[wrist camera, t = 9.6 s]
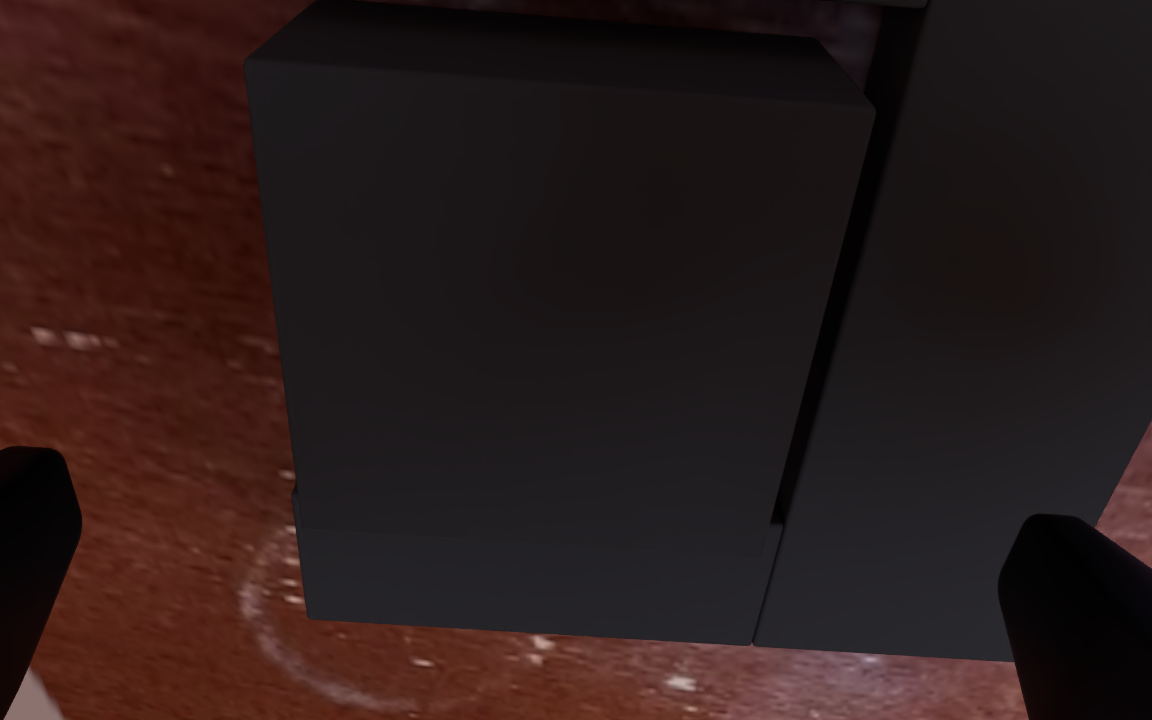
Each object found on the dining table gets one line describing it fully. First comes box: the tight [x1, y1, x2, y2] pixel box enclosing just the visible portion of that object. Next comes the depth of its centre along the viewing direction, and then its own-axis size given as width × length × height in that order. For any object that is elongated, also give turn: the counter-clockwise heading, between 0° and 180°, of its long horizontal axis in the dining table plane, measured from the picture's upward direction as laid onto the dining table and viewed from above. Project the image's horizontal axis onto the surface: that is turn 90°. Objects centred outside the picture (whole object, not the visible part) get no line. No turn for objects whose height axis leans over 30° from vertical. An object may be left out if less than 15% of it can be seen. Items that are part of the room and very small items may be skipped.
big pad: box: [291, 0, 1152, 662], centre depth 13 cm, size 13×14×2 cm
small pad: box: [243, 0, 876, 558], centre depth 12 cm, size 7×7×3 cm
